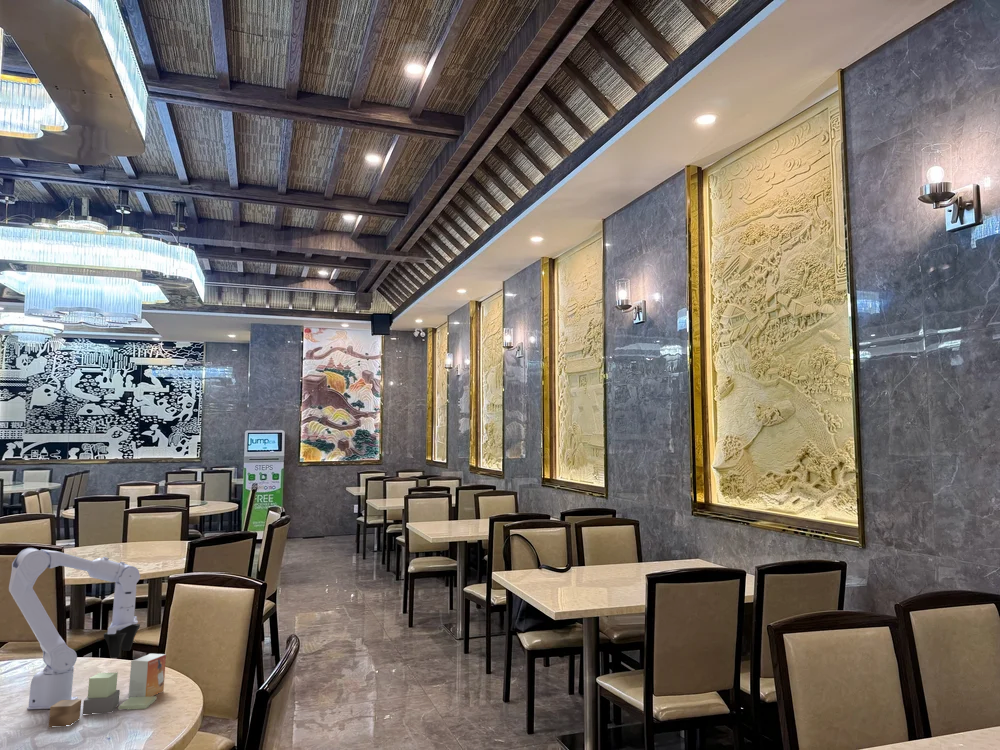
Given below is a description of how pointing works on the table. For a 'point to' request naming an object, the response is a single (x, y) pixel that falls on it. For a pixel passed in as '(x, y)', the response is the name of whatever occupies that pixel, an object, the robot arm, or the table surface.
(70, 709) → the walnut block
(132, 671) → the small box
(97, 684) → the sage green block
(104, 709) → the charcoal base block
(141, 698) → the sage green tile
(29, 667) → the table surface
